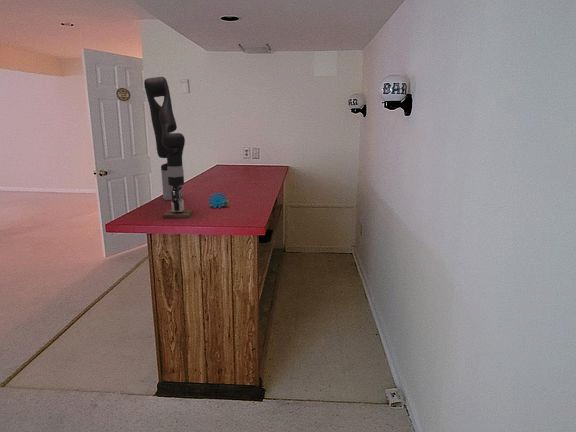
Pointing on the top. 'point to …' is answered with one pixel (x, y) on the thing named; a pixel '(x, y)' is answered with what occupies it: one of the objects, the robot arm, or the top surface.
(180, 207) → the pale grey cube block
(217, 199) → the blue piece
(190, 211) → the board
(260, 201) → the top surface
